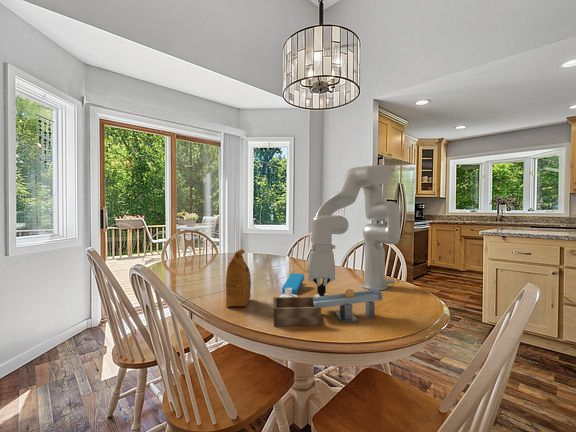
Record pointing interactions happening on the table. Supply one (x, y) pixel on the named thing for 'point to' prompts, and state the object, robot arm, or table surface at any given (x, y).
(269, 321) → the table surface
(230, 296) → the coffee package
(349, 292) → the ball
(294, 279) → the blue rectangular block
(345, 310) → the stand
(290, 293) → the teacup and saucer
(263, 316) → the table surface
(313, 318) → the box
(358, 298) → the lever
